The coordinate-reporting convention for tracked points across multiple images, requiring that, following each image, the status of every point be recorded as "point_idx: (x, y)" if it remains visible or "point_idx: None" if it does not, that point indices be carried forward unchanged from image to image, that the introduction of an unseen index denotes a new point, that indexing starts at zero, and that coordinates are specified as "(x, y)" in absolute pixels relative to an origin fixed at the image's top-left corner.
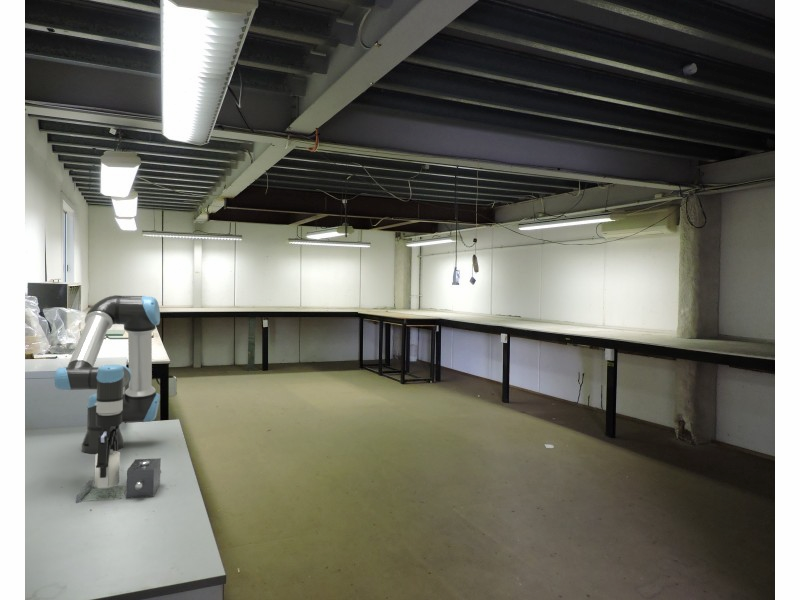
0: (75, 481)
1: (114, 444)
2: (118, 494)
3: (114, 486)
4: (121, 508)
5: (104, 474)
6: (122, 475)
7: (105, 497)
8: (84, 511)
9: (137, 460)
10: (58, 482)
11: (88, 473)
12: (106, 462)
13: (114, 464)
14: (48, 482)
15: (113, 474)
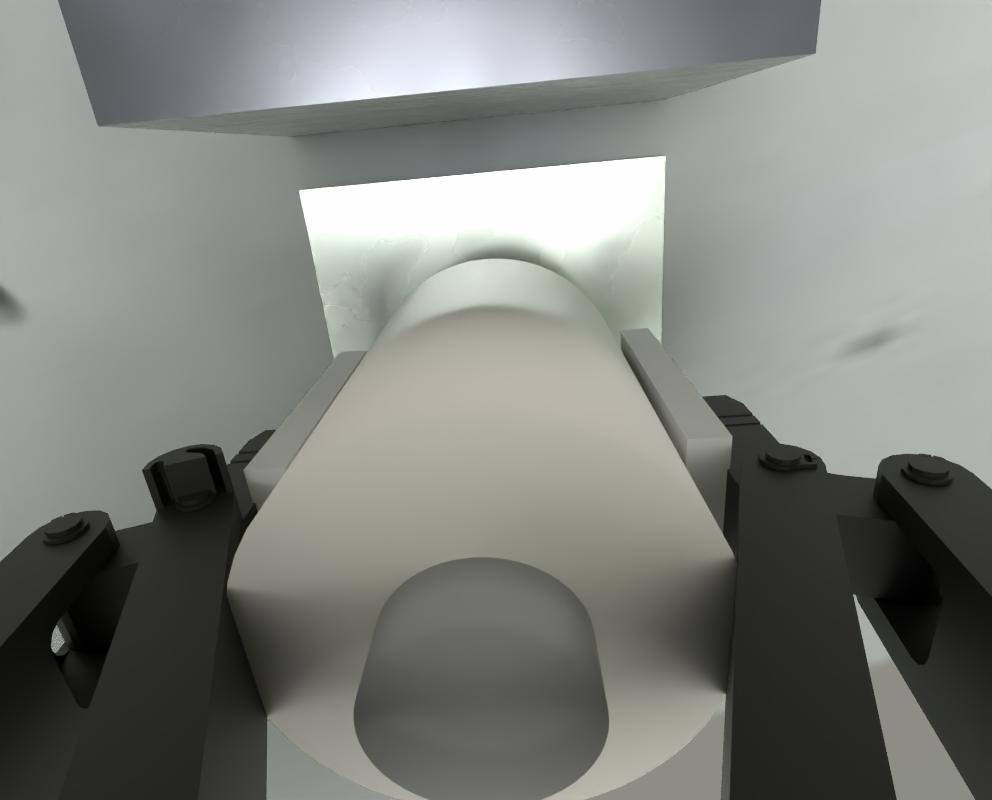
0: None
1: (198, 748)
2: (558, 218)
3: (341, 334)
4: (937, 51)
5: (754, 422)
6: (34, 363)
7: (618, 318)
8: (891, 383)
9: (155, 48)
10: (267, 738)
11: (57, 634)
12: (929, 502)
13: (616, 378)
14: (273, 784)
15: (601, 329)
